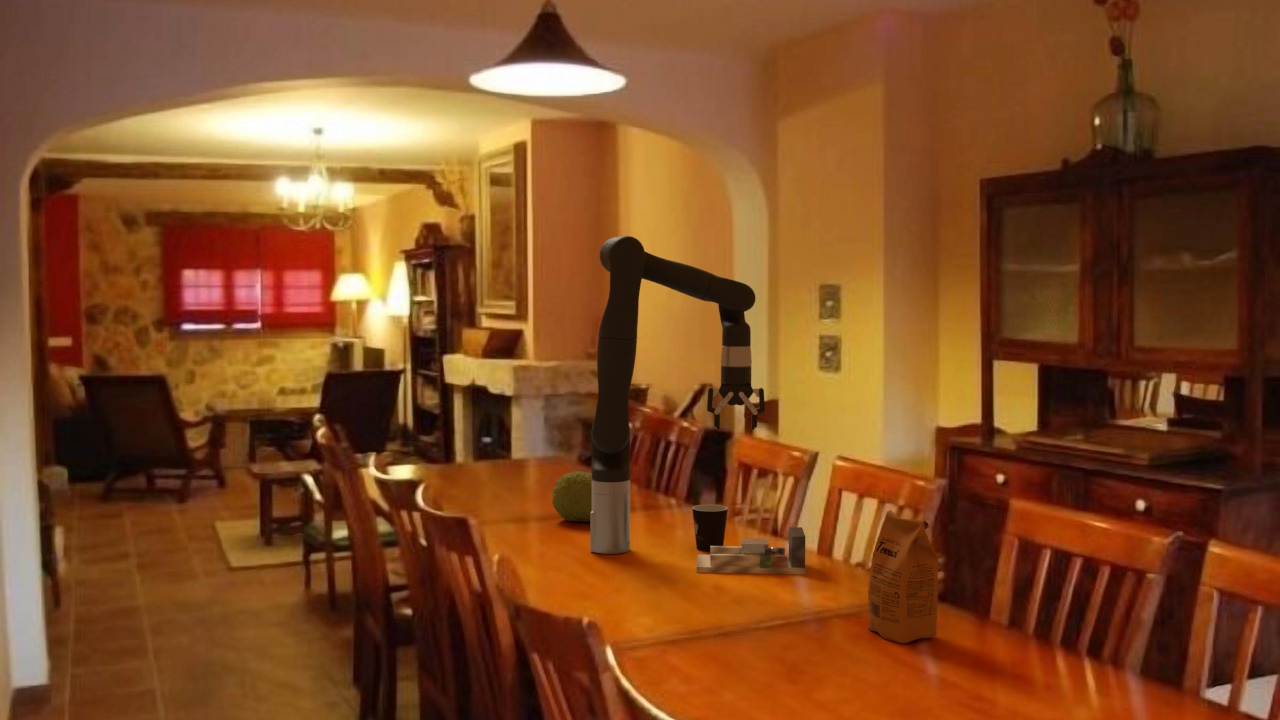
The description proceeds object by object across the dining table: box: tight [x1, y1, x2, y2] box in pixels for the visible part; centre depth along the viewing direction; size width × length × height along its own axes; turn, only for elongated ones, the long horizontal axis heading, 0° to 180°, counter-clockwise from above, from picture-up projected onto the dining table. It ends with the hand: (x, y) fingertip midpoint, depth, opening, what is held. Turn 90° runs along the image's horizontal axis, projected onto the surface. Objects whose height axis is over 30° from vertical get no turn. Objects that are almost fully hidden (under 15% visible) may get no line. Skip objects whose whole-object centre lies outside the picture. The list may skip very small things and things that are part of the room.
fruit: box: [551, 470, 592, 523], centre depth 309 cm, size 16×14×15 cm
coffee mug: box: [691, 504, 729, 553], centre depth 278 cm, size 12×9×10 cm
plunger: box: [740, 537, 782, 555], centre depth 257 cm, size 9×9×4 cm
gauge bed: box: [696, 526, 806, 575], centre depth 259 cm, size 24×12×8 cm, turn 86°
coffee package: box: [867, 510, 939, 644], centre depth 208 cm, size 10×12×22 cm
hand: (735, 429), depth 283 cm, fingers open, 8 cm apart
